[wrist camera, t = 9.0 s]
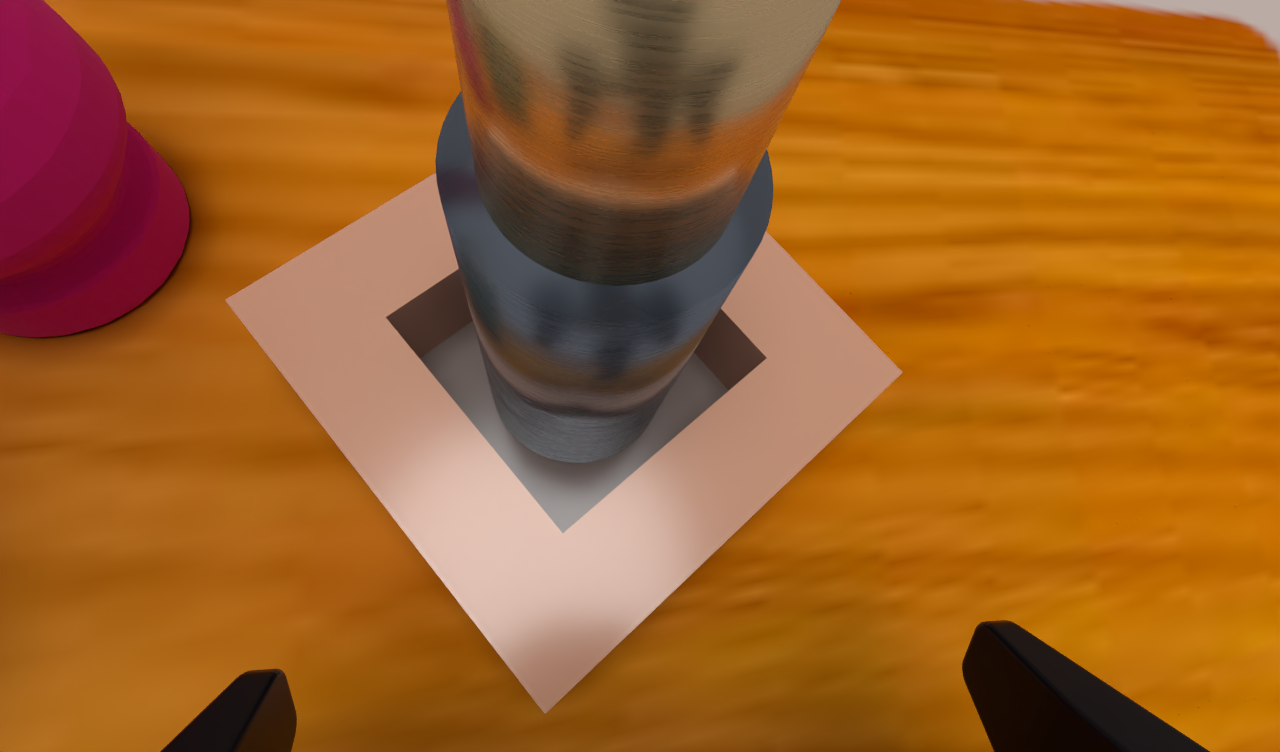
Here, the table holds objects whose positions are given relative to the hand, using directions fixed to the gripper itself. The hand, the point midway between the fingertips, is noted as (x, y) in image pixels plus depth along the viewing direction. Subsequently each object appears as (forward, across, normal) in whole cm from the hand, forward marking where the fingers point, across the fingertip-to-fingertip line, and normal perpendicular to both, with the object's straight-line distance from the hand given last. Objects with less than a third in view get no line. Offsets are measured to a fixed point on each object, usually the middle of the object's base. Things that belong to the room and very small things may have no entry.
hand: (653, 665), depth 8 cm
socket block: (+10, +1, +1) cm, 11 cm away
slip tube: (+10, +1, +1) cm, 10 cm away
